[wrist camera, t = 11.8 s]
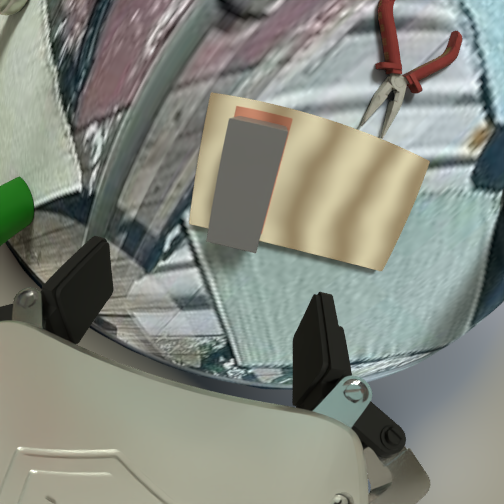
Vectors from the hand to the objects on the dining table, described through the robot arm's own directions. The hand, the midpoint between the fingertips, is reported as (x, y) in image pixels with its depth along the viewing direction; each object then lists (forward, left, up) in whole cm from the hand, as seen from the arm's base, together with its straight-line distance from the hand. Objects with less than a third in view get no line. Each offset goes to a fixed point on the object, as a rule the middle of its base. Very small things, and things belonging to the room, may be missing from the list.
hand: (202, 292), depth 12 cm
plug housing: (0, 0, -21) cm, 21 cm away
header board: (-7, 0, -22) cm, 23 cm away
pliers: (-12, -20, -23) cm, 33 cm away
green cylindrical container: (+41, +12, -22) cm, 48 cm away
